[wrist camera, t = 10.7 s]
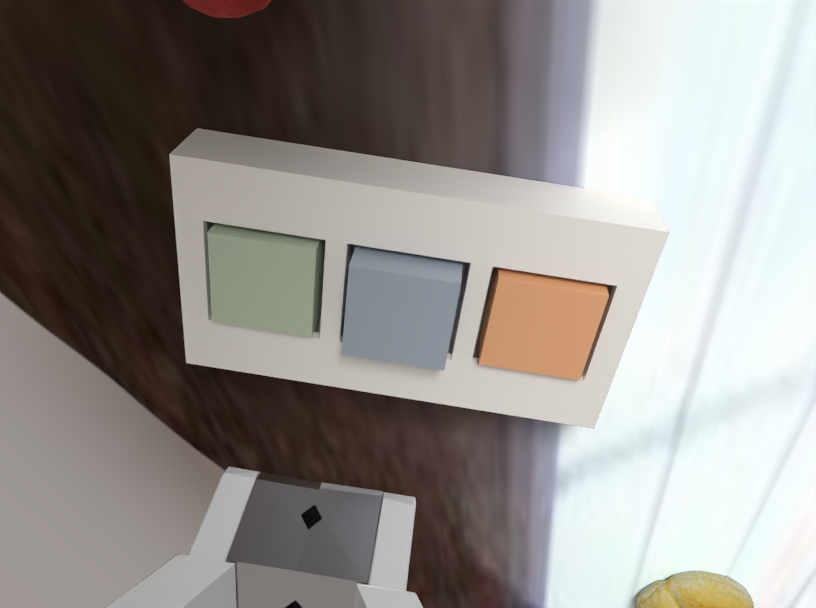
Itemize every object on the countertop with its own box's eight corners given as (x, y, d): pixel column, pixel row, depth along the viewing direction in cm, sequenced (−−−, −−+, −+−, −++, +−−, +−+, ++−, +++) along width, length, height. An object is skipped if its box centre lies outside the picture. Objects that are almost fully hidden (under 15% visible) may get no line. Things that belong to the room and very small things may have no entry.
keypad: (197, 128, 38) (169, 154, 35) (653, 198, 38) (669, 232, 35) (208, 326, 46) (186, 362, 43) (586, 387, 46) (593, 428, 43)
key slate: (358, 239, 38) (348, 265, 36) (463, 255, 38) (461, 283, 36) (350, 324, 42) (341, 354, 39) (447, 339, 42) (444, 370, 39)
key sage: (225, 208, 39) (207, 232, 37) (327, 224, 39) (316, 249, 37) (228, 294, 43) (211, 321, 40) (321, 309, 43) (311, 337, 40)
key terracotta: (498, 251, 39) (498, 278, 37) (601, 267, 39) (609, 296, 37) (479, 334, 42) (478, 364, 40) (574, 349, 42) (579, 380, 40)
